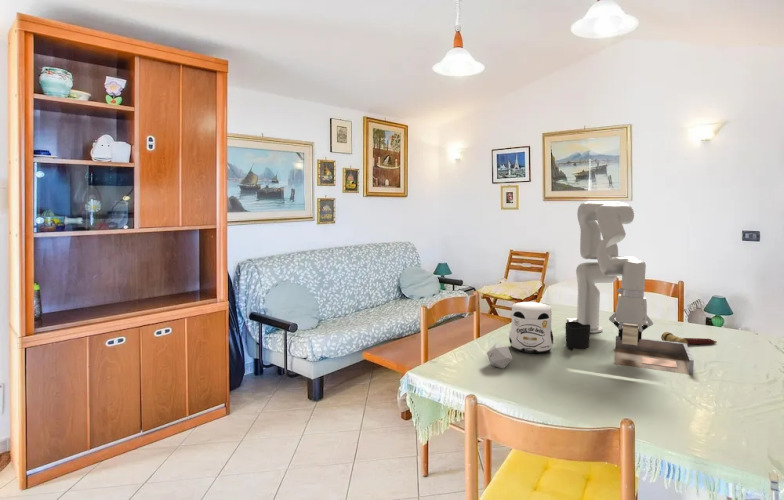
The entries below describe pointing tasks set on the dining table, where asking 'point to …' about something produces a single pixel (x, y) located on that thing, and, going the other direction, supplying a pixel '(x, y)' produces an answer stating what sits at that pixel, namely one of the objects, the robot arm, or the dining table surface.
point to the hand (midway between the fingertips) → (629, 339)
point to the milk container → (531, 327)
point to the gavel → (686, 339)
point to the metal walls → (660, 349)
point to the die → (499, 356)
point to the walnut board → (650, 360)
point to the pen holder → (577, 335)
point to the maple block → (630, 334)
